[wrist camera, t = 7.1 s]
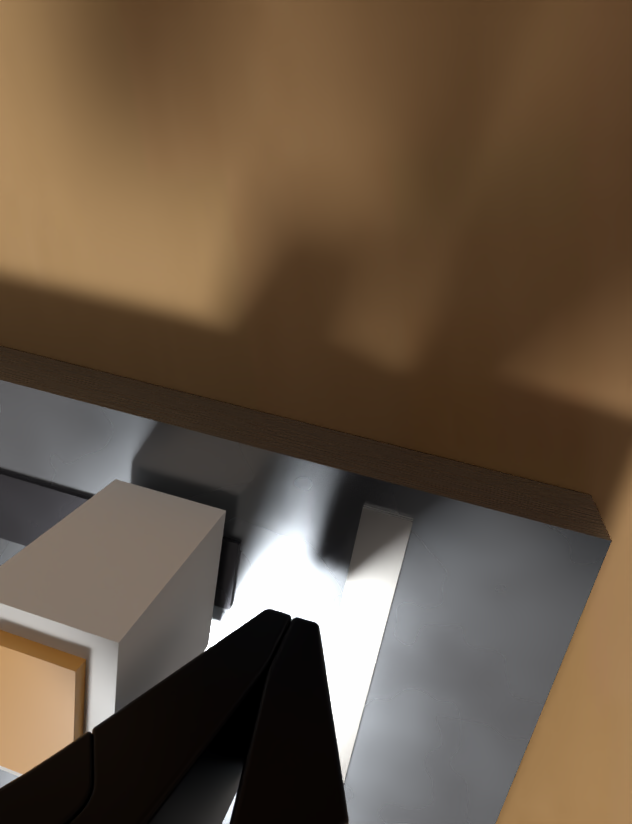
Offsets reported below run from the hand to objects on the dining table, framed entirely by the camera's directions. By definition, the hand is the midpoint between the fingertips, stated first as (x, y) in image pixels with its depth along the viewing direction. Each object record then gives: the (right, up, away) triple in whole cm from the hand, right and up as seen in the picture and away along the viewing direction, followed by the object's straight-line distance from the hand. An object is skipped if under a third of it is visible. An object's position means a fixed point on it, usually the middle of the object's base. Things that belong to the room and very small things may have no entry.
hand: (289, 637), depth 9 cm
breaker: (-2, +1, +1) cm, 3 cm away
